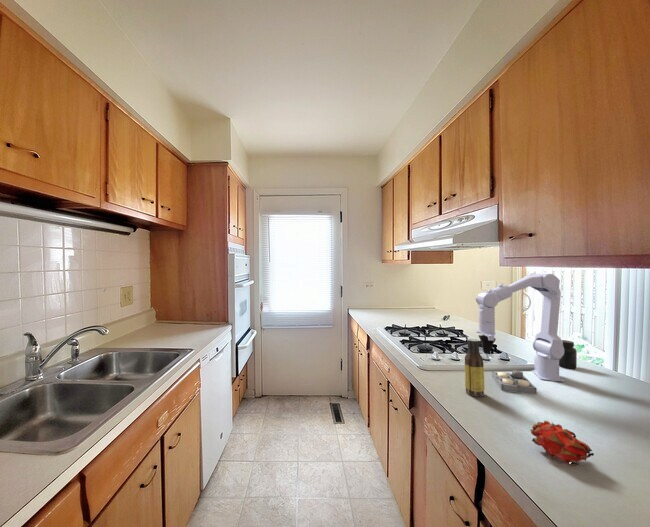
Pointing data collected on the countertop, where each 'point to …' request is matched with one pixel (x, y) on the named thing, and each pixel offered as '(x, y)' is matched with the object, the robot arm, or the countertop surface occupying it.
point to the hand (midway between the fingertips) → (486, 353)
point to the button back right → (502, 374)
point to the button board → (514, 384)
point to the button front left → (523, 383)
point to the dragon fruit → (560, 442)
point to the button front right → (507, 381)
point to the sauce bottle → (474, 369)
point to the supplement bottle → (568, 356)
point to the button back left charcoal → (517, 374)
